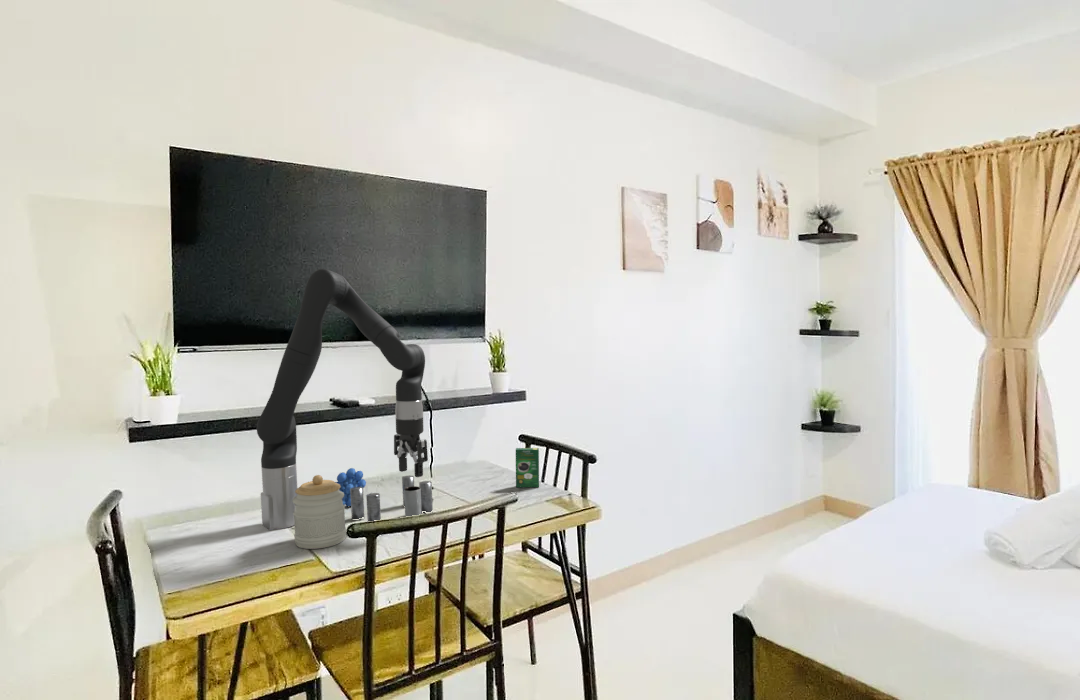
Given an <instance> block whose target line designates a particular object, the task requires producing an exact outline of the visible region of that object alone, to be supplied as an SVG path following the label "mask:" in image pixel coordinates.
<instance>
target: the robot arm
mask: <svg viewBox="0 0 1080 700" xmlns="http://www.w3.org/2000/svg"><path fill="white" fill-rule="evenodd" d="M351 285H352V284H350V283H349V282H348V280H347V279H346V278H345V277H344V276H343V275H341V274H340V273H337V272H335V271H332V270H330V269H327V268H319V269H316V270H314V271H313V272H312V273H311V275H310V276H309V278H308V280H307V281H306V285H305V288H304V294H303V297H302V301H301V304H300V309H299V312H298V315H297V318H296V320H295V324H294V326H293V329H292V332H291V335H290V338H289V339H288V342H287V345H286V347H285V349H284V352H283V355H282V359H281V362H280V364H279V367H278V371H277V373H276V374H277V375H276V377H275V381H274V384H273V388H272V391H271V392H270V393H271V394H270V395H269V398H268V400H267V403H266V405H265V407H264V409H263V410H262V412H261V414H260V416H259V418H258V421H257V423H256V434H257V436H258V437H259V440H261V441H262V454H261V457H260V458H261V459H260V464H261V465H260V466H261V479H262V480H261V481H262V483H261V484H262V492H260V507H261V509H260V510H261V523H262V526H263V528H264V527H265V528H266V529H268V530H269V531H271V530H280V529H286V528H289V527H293V526H294V515H293V512H294V510H295V504H294V503H293V502H292V500H293V498H294V497H296V496H297V494H296V492H295V490H296V489H297V488H298V476H297V475H298V474H297V473H298V472H297V471H298V470H297V452H298V451H297V450H298V444H297V443H298V442H297V441H298V440H297V438H298V437H297V436H298V435H297V423H296V418H295V416H294V415H295V414H294V413H295V410H296V408H297V405H298V402H299V399H300V398H301V396H302V394H303V393H304V390H305V389H306V387H307V385H308V383H309V382H310V379H311V378H312V376H313V373H314V372H315V369H316V368H317V364H318V362H319V359H320V355H321V354H322V347H323V331H322V329H323V321H324V318H325V314H326V311H327V309H328V307H329V305H332V306H334V307H335V308H337V309H339V310H340V311H341V312H343V313H344V314H345V315H347V316H348V317H349V318H350V319H351V321H353V323H354V324H355V326H356V327H357V328H358V330H359V331H360V333H362V335H364V337H366V339H368V341H370V342H371V343H372V344H373V345H375V346H376V347H377V348H378V349H379V350H380V352H381V354H382V355H383V357H384V358H385V359H386V361H388V363H389V364H390V366H391V367H394V368H395V369H396V370H398V371H401V377H400V378H399V379H398V380H396V383H395V407H394V408H395V413H394V414H395V432H396V434H394V435H393V454H394V456H396V459H398V470H399V472H401V473H402V472H407V471H408V458H407V457H408V454H409V456H410V457H411V458H412V459H413V462H414V465H413V466H414V470H413V471H414V478H420V477H423V475H424V463H425V462H428V461H429V458H428V442H427V439H425V438H424V439H421V438H420V435H421V434H422V433H423V432H424V406H423V397H422V396H423V393H422V392H423V391H422V390H423V389H422V382H423V378H424V373H425V368H426V367H425V366H426V356H425V353H424V352H425V351H424V350H423V348H422V347H421V346H419V345H418V344H416V343H410V344H405V343H404V342H403V341H401V339H400V334H399V332H398V331H397V330H396V328H395V327H394V326H393V325H391V324H390V323H389V322H388V321H387V320H386V319H384V318H383V316H381V315H380V314H379V313H377V311H375V310H374V309H372V308H371V307H370V306H369V305H368V304H367V303H366V302H365V301H364V299H362V298H361V296H360V295H359V294H358V293H357V292H356V290H355V289H354V288H353V286H351ZM294 527H295V526H294Z"/></svg>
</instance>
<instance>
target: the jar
mask: <svg viewBox="0 0 1080 700" xmlns="http://www.w3.org/2000/svg"><path fill="white" fill-rule="evenodd" d="M335 482H336V481H334V480H332V479H324V478H323V476H322V475H320V474H316V475H313V477H312V480H311V481H307V482H304V483H302V484H301V485H300V486H298V487H297V489H296V490H295V492H296V494H297V496H296V497H294V498H293V500H292V502H293V503H294V504H295V510H294V512H293V515H294V542H295V545H296V547H298V548H300V549H307V550H317V549H318V550H319V549H324V548H328V547H333V546H335V545H338V544H341V543H342V542H343V541H344V540H345V539H346V535H347V528H346V527H347V526H346V517H345V513H346V512H345V508H346V505H345V506H344V504H343V501H342V498H343V497H344V493H343V492H342V491H340V490H339V489H340V487H341V486H340V484H338V483H335Z"/></svg>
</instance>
